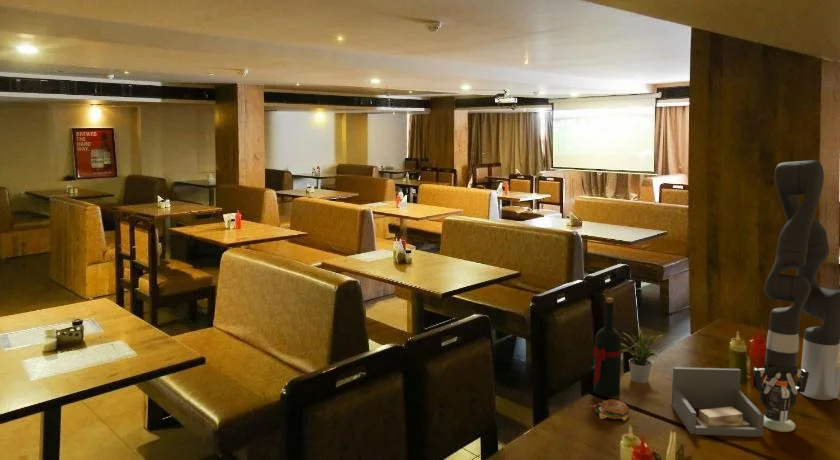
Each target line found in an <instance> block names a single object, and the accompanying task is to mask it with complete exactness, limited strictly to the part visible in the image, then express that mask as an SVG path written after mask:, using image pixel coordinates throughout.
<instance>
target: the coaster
mask: <svg viewBox="0 0 840 460" xmlns="http://www.w3.org/2000/svg"><path fill="white" fill-rule="evenodd" d="M763 415H764V422H763V428H765V429H768V430H771V431H774V432H775V431H776V432H781V433H782V432H783V433H789V432H793V431H795V429H796V424H795V422H793V420H791V419H789V420H788V421H785V422H778V421H773V420H770V419H768V418H767V417H766V416H765V414H763Z"/></svg>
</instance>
